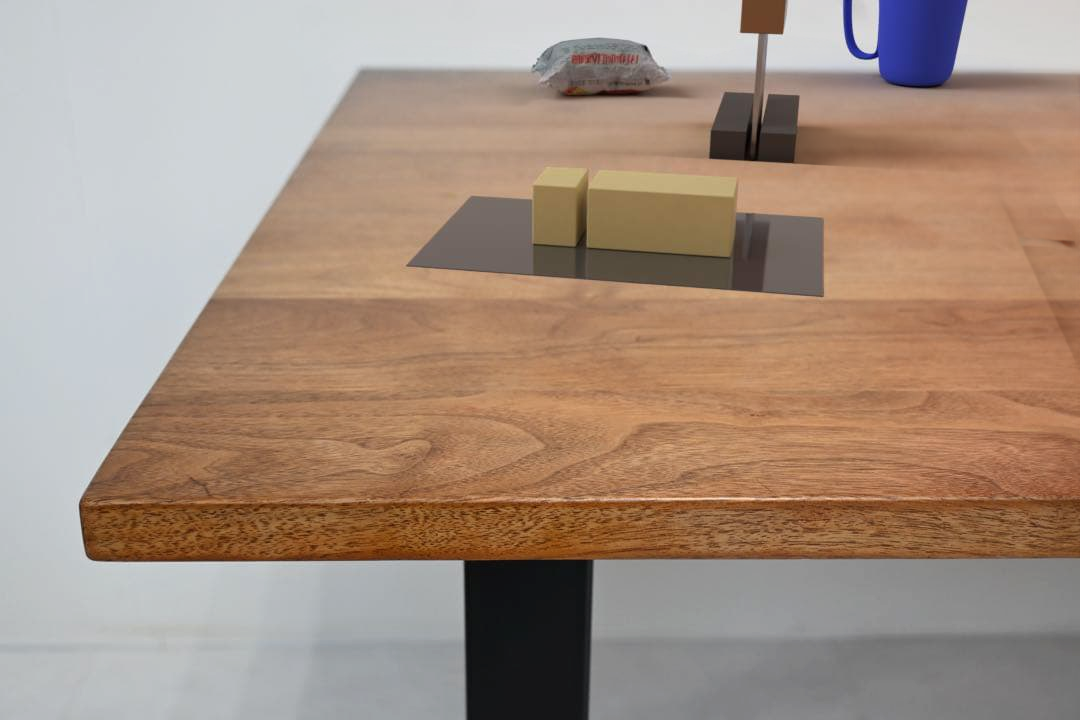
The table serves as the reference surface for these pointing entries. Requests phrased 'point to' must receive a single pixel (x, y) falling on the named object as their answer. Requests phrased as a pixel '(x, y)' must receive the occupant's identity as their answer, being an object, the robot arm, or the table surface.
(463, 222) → the butter board
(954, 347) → the table surface
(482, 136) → the table surface
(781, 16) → the scraper knife
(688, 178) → the butter stick
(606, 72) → the packaged food
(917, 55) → the mug
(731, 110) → the knife holder
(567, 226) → the butter slice
